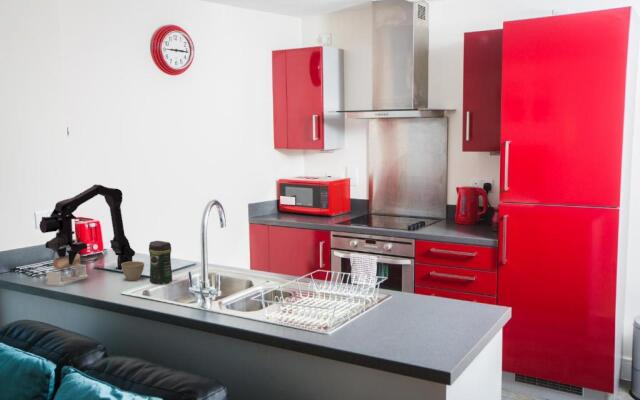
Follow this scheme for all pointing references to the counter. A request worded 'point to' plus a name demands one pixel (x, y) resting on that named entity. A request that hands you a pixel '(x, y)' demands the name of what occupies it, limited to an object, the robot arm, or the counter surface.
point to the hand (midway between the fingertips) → (67, 264)
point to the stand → (61, 280)
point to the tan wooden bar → (65, 262)
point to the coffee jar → (160, 262)
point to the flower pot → (132, 269)
